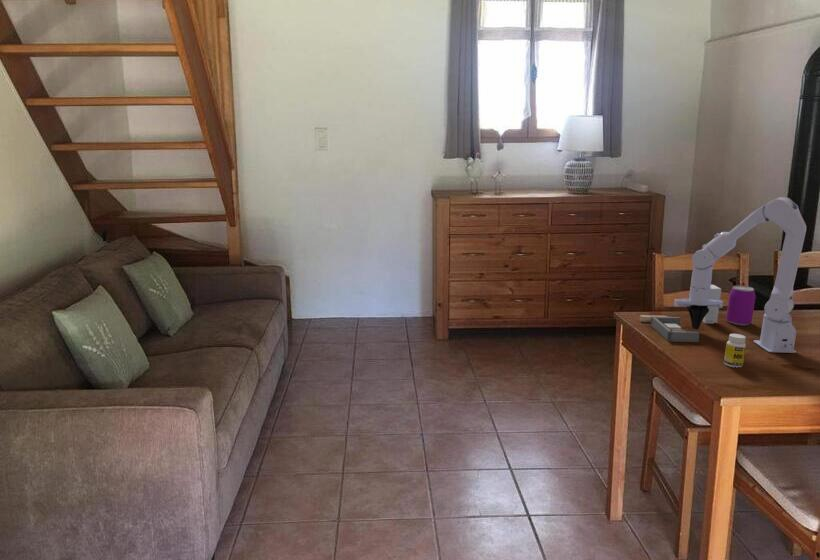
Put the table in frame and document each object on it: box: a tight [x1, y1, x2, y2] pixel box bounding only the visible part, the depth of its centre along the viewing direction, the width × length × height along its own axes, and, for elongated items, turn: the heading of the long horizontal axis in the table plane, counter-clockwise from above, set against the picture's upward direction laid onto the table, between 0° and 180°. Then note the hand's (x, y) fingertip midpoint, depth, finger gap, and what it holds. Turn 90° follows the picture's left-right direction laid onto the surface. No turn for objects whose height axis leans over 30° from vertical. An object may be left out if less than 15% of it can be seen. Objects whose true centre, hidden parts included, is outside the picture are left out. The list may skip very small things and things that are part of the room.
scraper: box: [638, 314, 669, 323], centre depth 215 cm, size 7×11×2 cm, turn 89°
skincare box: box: [701, 284, 722, 324], centre depth 215 cm, size 6×4×12 cm
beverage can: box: [725, 285, 757, 327], centre depth 214 cm, size 8×8×12 cm
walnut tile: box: [670, 328, 686, 331], centre depth 200 cm, size 4×4×2 cm
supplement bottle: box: [723, 333, 747, 369], centre depth 176 cm, size 5×5×8 cm
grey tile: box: [664, 323, 682, 329], centre depth 206 cm, size 4×4×2 cm
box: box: [650, 316, 700, 343], centre depth 203 cm, size 16×9×3 cm, turn 179°
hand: (695, 328), depth 205 cm, fingers closed
